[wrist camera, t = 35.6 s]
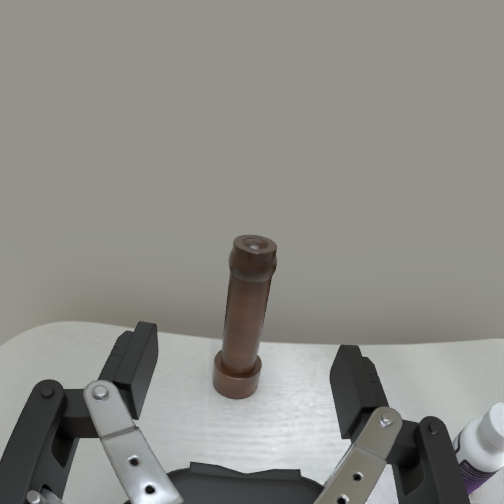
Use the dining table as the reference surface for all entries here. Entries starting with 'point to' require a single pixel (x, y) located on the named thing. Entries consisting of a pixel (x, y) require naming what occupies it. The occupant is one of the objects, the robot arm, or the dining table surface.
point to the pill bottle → (481, 447)
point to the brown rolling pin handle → (244, 316)
